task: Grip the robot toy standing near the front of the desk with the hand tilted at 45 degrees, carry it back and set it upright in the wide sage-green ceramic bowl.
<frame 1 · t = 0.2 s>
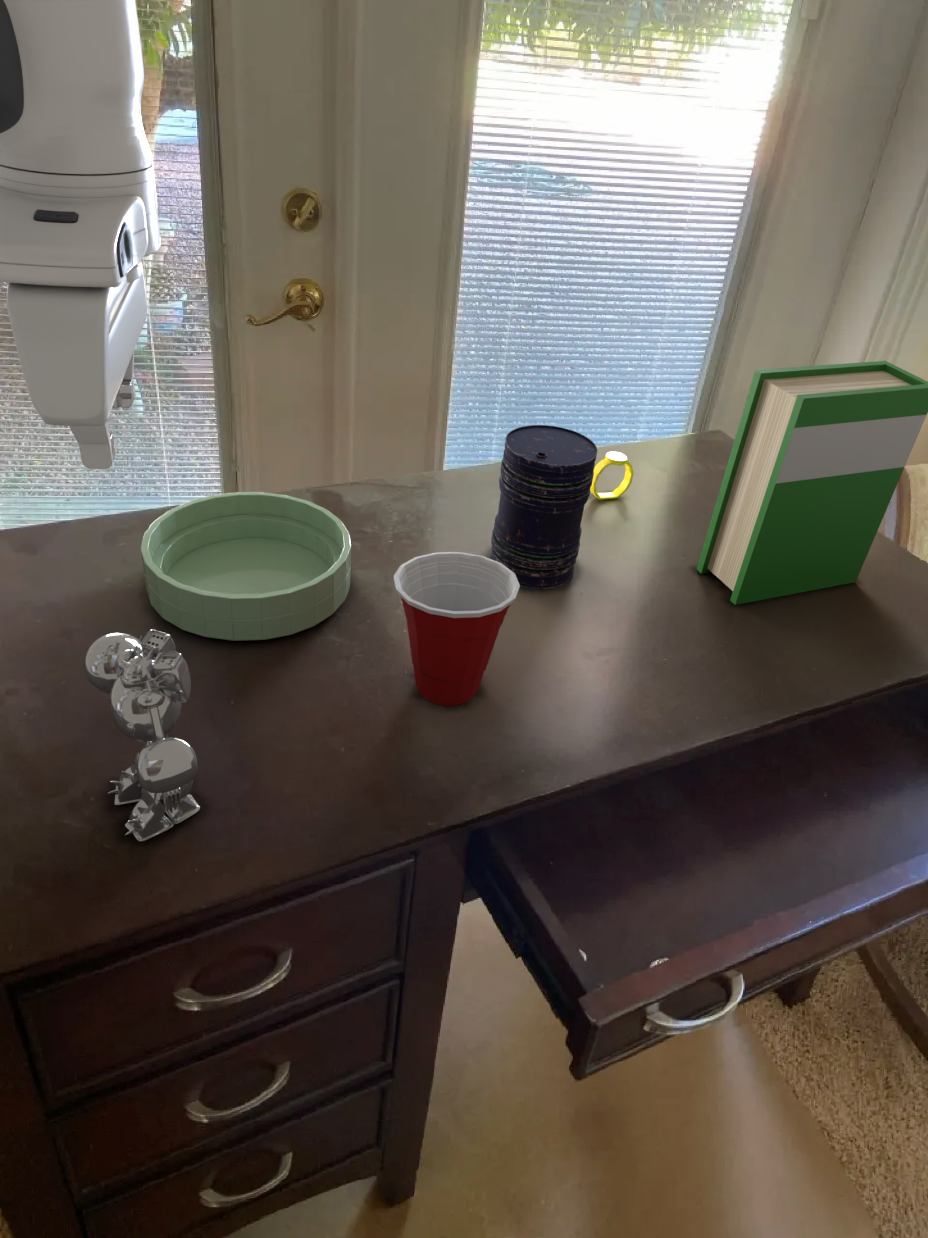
hand: (111, 432, 60), 26 cm above the table, tool pointing down, fingers open, 8 cm apart
robot toy: (151, 790, 69), on the table
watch: (606, 498, 116), on the table
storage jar: (531, 566, 101), on the table
plastic cup: (445, 686, 83), on the table
bowl: (251, 585, 92), on the table
hardback book: (775, 577, 104), on the table
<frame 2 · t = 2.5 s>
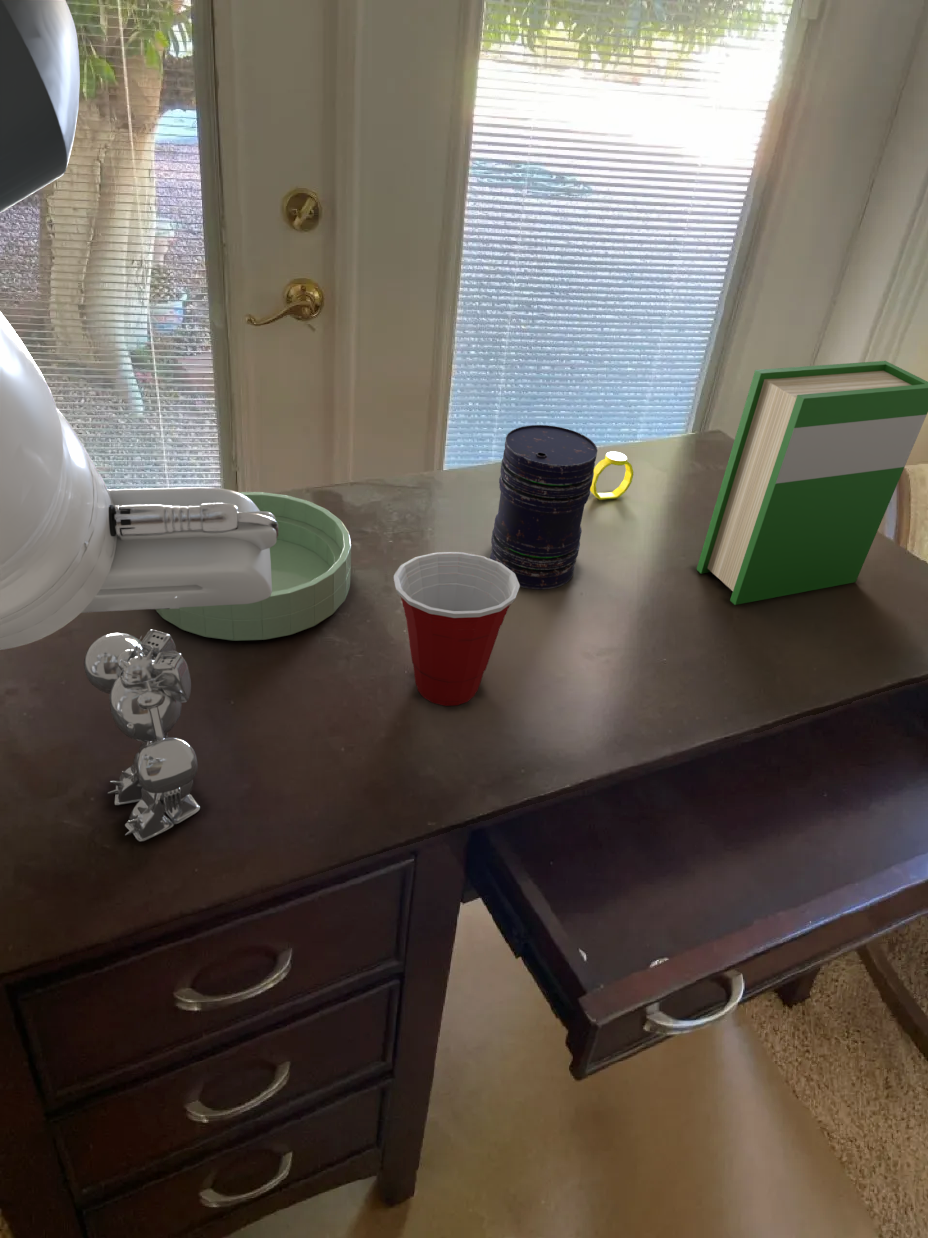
hand: (66, 598, 45), 26 cm above the table, tool tilted 45°, fingers open, 8 cm apart
nothing on the table moved.
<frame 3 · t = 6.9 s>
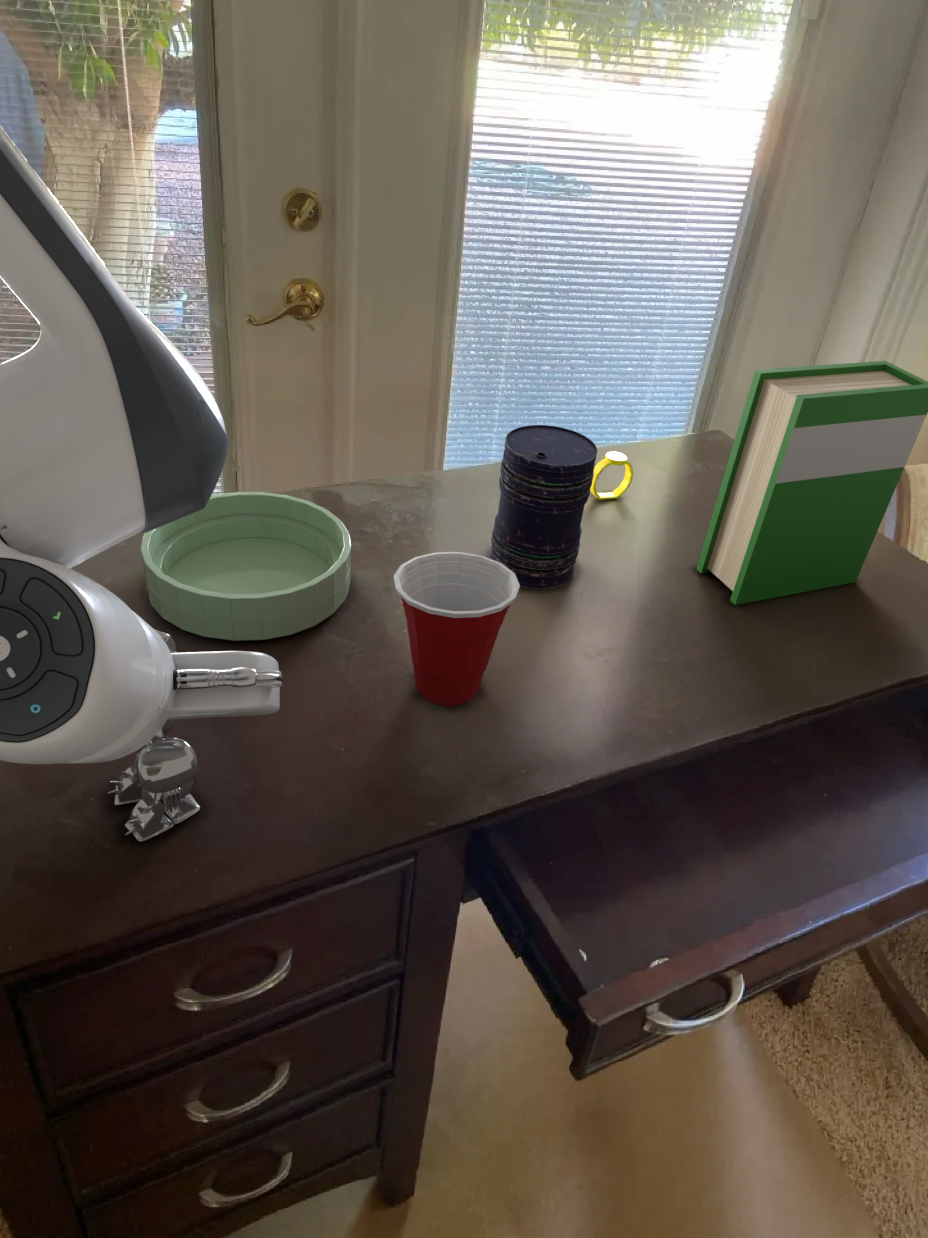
hand: (135, 698, 62), 10 cm above the table, tool tilted 45°, fingers open, 8 cm apart
nothing on the table moved.
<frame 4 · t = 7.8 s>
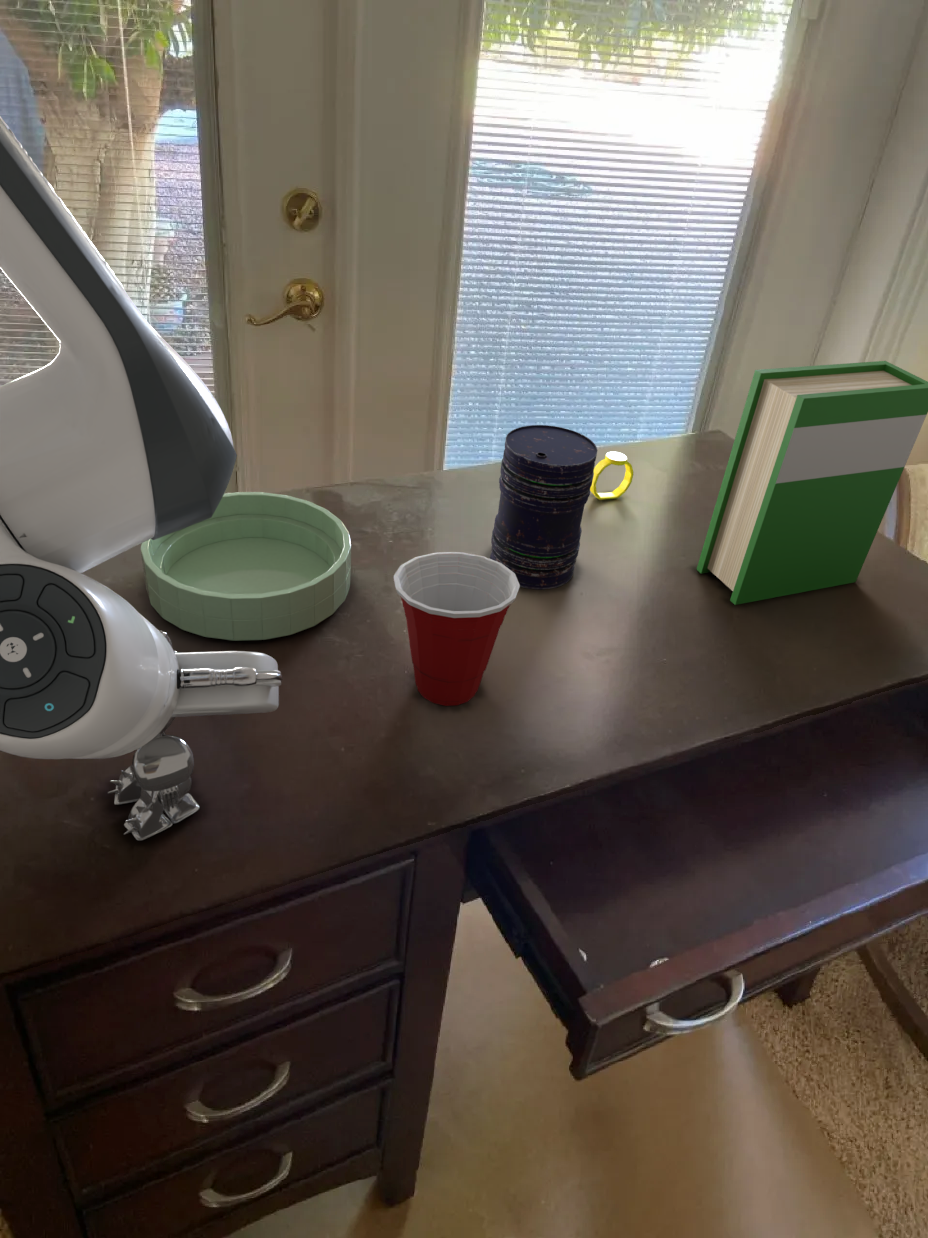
hand: (138, 697, 64), 9 cm above the table, tool tilted 45°, fingers closed on robot toy, 6 cm apart
robot toy: (151, 790, 69), on the table, touching gripper
everything else where it was.
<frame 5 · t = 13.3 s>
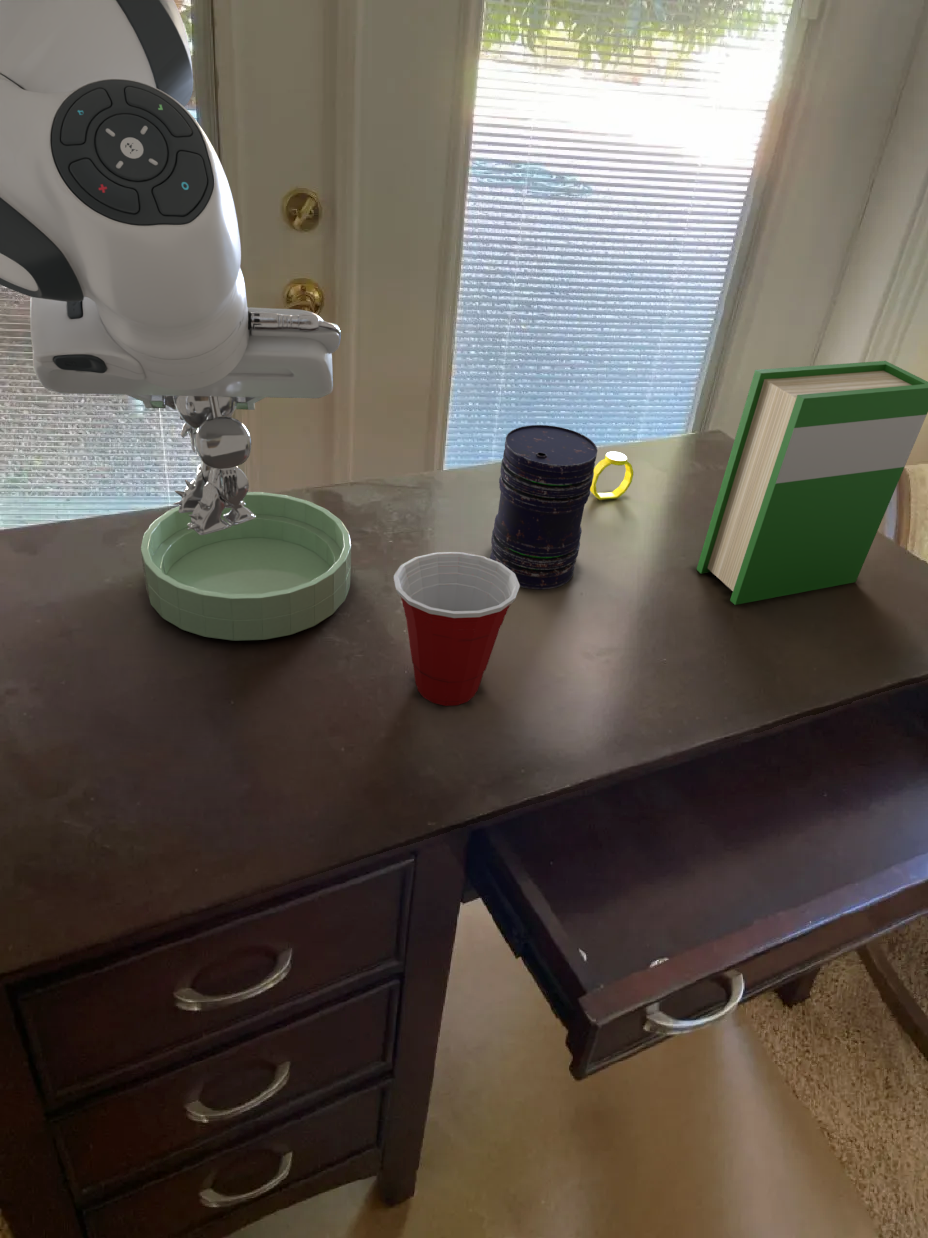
hand: (200, 399, 70), 25 cm above the table, tool tilted 45°, fingers closed on robot toy, 5 cm apart
robot toy: (212, 506, 75), point 15 cm above the table, touching gripper
everything else where it was.
when the fingers open (10 cm above the table, at t = 19.1 s): robot toy stays where it is, resting on bowl.
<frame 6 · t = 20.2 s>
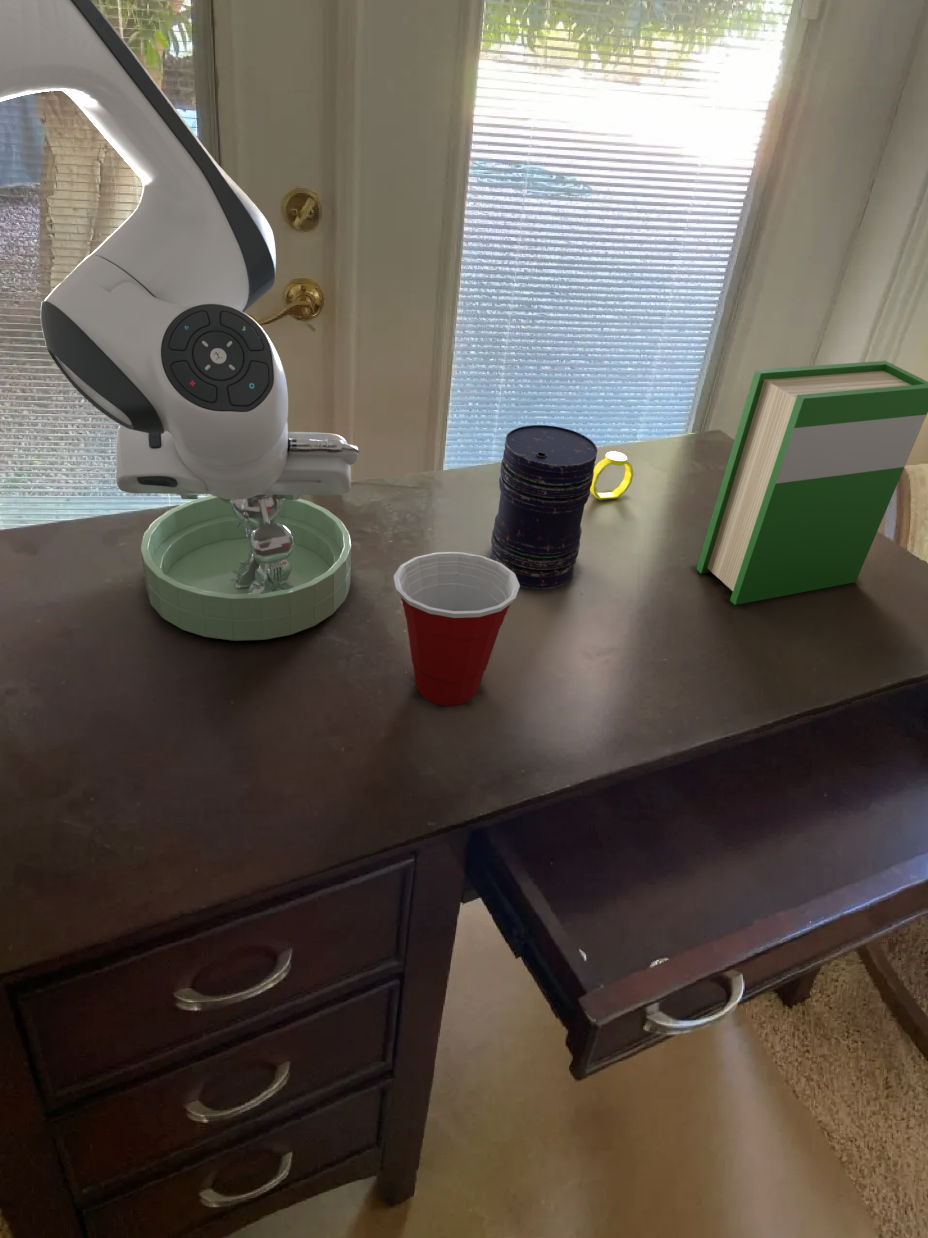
hand: (240, 491, 85), 11 cm above the table, tool tilted 45°, fingers open, 8 cm apart
robot toy: (262, 580, 92), point 1 cm above the table, touching bowl, gripper
everything else where it was.
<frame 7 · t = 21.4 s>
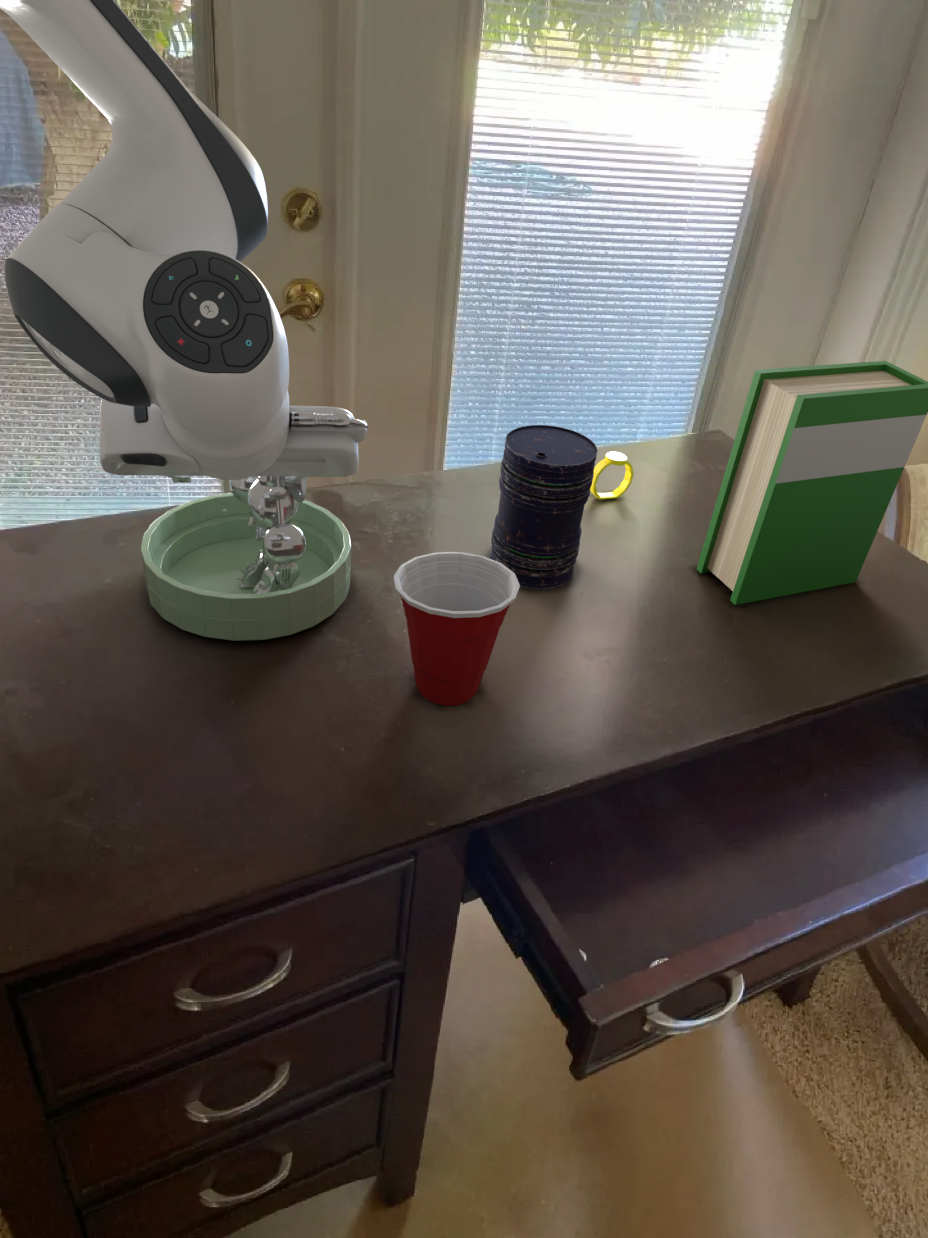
hand: (238, 474, 78), 16 cm above the table, tool tilted 45°, fingers open, 8 cm apart
robot toy: (267, 583, 92), resting on bowl
everything else where it was.
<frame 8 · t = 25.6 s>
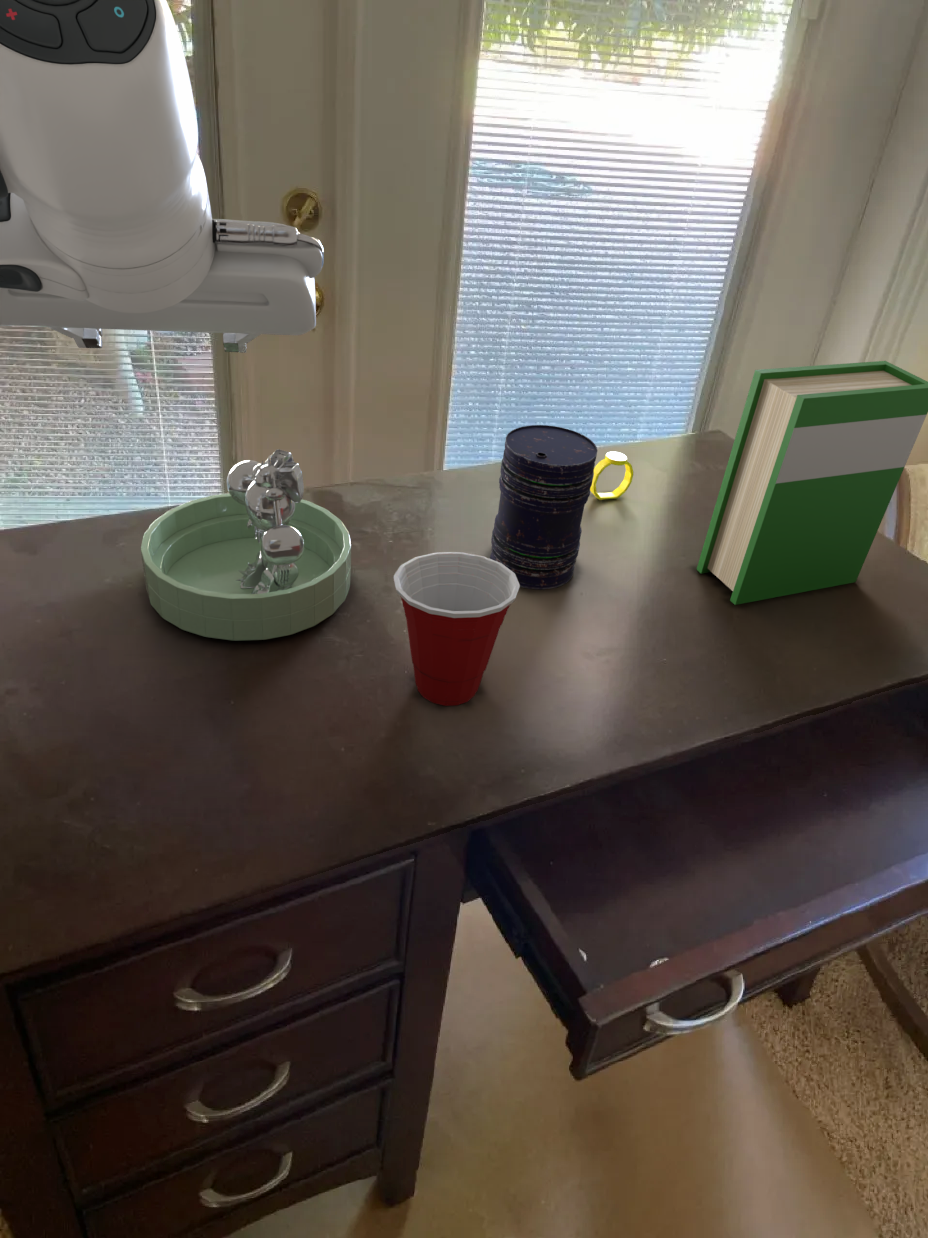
hand: (164, 340, 61), 31 cm above the table, tool tilted 45°, fingers open, 8 cm apart
nothing on the table moved.
at the end: robot toy inside the target area in the bowl (1.7 cm from its centre), point 0.4 cm above the bowl's base; robot toy tilted 0°; the gripper is holding nothing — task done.
